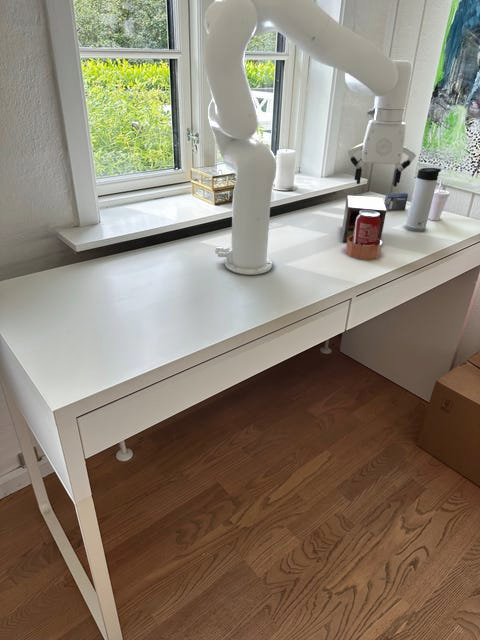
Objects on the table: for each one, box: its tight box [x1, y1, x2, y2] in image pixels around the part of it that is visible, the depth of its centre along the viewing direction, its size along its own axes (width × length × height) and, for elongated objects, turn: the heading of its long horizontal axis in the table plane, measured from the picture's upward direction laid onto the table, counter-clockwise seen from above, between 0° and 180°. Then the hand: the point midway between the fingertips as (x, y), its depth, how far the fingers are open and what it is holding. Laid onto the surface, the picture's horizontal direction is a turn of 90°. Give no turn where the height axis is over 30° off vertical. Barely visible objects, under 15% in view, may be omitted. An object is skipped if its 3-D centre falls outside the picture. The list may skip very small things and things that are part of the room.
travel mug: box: [405, 167, 442, 233], centre depth 152 cm, size 6×7×20 cm
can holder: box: [345, 234, 383, 261], centre depth 136 cm, size 10×10×4 cm
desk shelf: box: [341, 194, 387, 244], centre depth 146 cm, size 11×13×11 cm
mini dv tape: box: [384, 192, 409, 212], centre depth 174 cm, size 8×2×6 cm, turn 103°
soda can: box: [352, 210, 381, 246], centre depth 134 cm, size 7×7×12 cm
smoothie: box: [428, 178, 451, 221], centre depth 164 cm, size 6×6×14 cm
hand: (376, 184), depth 127 cm, fingers open, 9 cm apart
